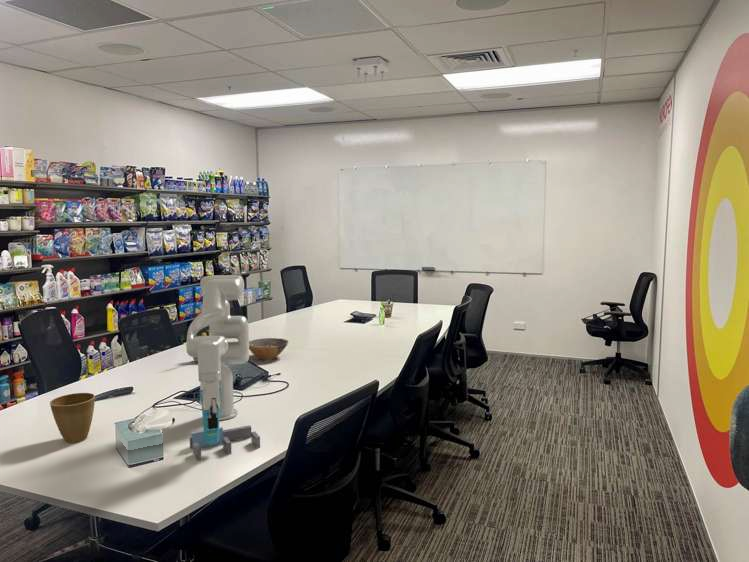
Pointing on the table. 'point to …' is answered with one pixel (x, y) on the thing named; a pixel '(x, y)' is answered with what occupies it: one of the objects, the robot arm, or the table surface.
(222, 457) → the table surface
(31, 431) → the table surface
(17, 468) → the table surface
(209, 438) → the tube
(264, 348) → the bowl
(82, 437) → the plant pot
